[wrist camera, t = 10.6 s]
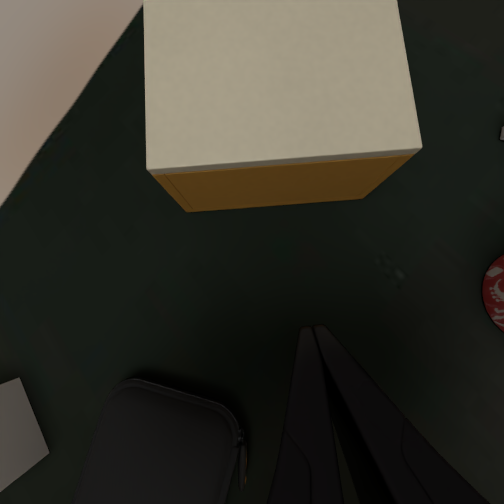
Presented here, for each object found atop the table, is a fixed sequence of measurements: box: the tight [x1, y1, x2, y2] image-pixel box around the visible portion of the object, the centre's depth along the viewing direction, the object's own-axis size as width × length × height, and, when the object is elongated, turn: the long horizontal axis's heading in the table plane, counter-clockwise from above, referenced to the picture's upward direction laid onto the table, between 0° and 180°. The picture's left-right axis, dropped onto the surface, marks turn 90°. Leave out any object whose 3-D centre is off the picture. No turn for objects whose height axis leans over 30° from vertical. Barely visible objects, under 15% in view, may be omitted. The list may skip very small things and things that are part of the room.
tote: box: [152, 154, 414, 212], centre depth 19 cm, size 12×14×7 cm
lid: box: [144, 0, 422, 174], centre depth 15 cm, size 13×14×1 cm
